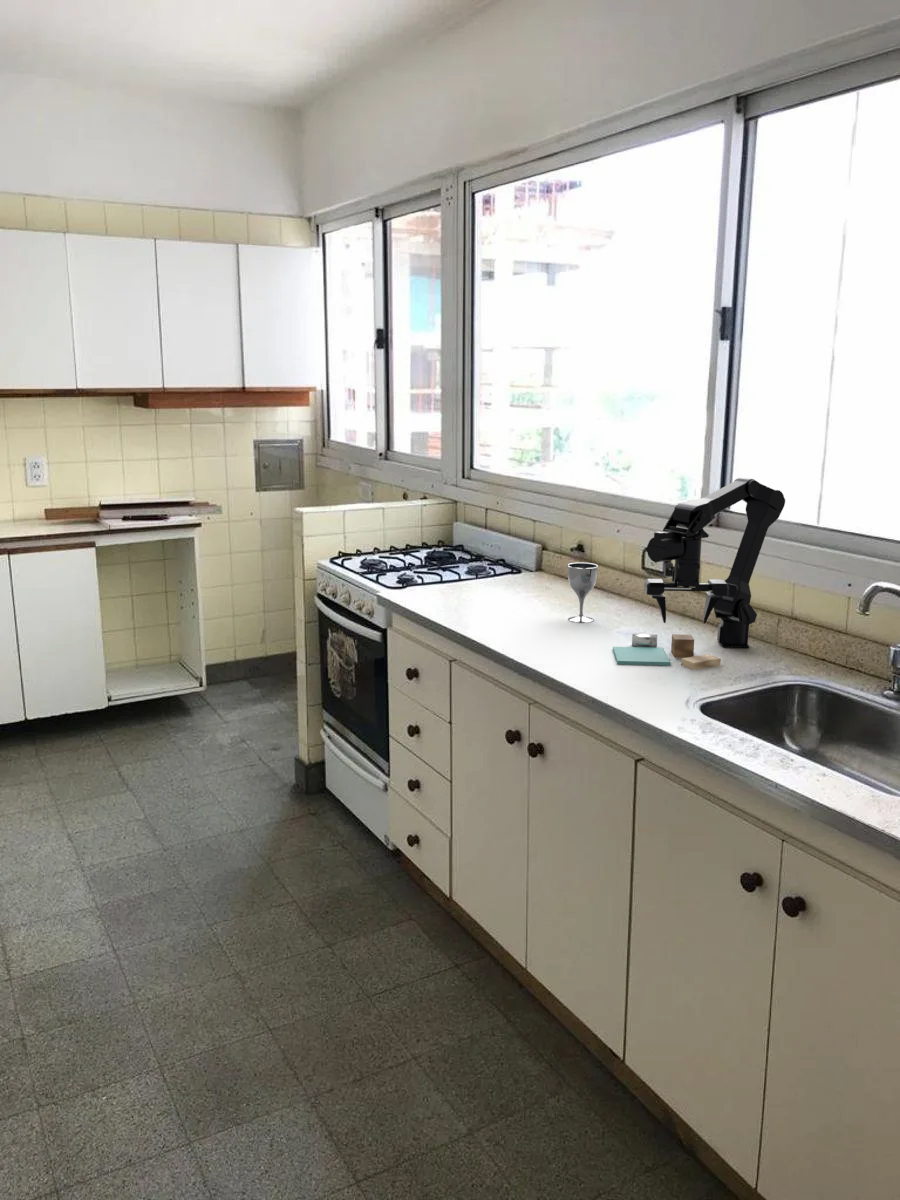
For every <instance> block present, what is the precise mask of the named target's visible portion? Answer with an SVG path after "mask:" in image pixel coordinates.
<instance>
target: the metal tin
mask: <svg viewBox="0 0 900 1200" xmlns="http://www.w3.org/2000/svg"><path fill="white" fill-rule="evenodd" d="M631 647H655V648H658V634H656V633H655V632H651V631H636V632H635V631H634V632H633V633H632V636H631Z"/></svg>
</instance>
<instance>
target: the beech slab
mask: <svg viewBox="0 0 900 1200" xmlns="http://www.w3.org/2000/svg"><path fill="white" fill-rule="evenodd" d="M721 661H722V658H721V657H719V656H715V655H712V654H711V653H708V654H707V653H706V654H702V655H701V654H700V655H695V656H694V655H693V657H687V658H681V661H680V662H681V664H680V665H681V666H682V667H684V668H688V669H690V670H693V671H694V670H698V669H706V668H712V667H717V666H721Z"/></svg>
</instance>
